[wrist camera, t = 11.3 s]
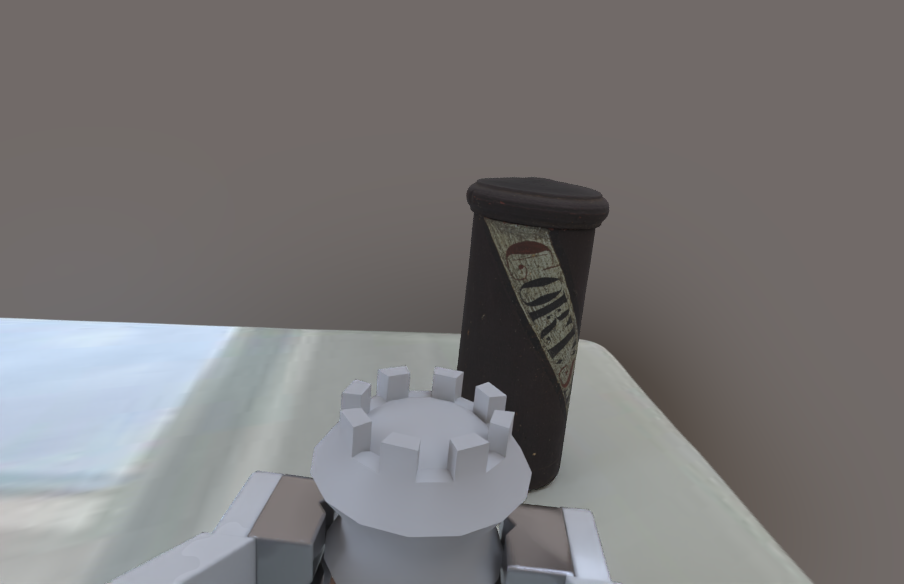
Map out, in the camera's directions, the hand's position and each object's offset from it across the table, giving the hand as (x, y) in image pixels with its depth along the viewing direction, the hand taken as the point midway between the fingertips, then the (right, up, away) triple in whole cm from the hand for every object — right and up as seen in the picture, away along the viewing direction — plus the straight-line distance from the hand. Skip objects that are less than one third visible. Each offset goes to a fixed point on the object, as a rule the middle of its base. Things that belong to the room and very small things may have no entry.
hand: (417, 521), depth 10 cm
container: (+4, -8, +31) cm, 33 cm away
